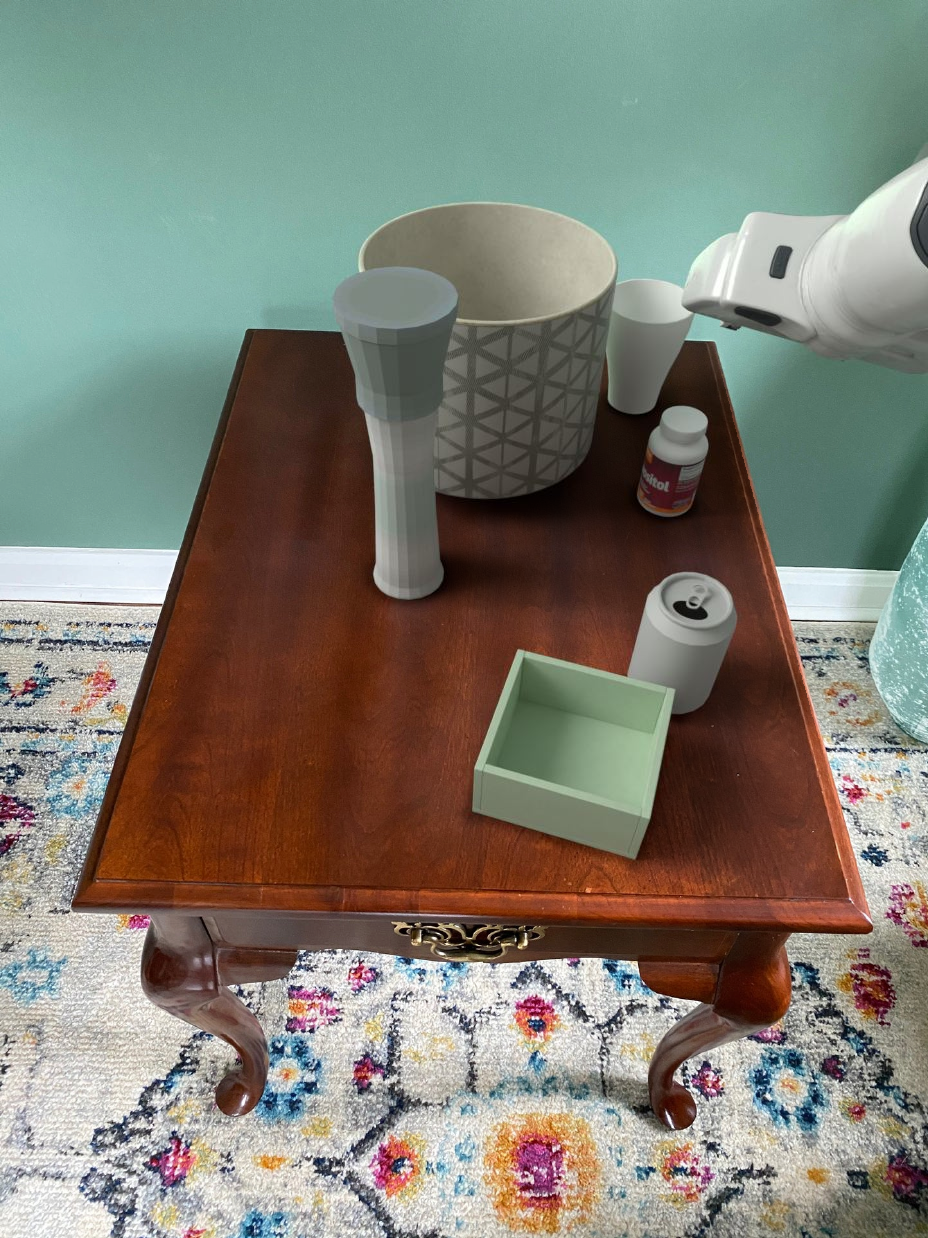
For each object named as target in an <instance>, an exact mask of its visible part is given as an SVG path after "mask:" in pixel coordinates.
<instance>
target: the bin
mask: <svg viewBox="0 0 928 1238" xmlns="http://www.w3.org/2000/svg"><path fill="white" fill-rule="evenodd" d="M675 691H676V690H675V689H673V688H669V687H668V688H667V687H665V686H661V685H657V684H653V683H649V682H645V681H641V680H637V679H633V678H630V677H628V676H626V675H621V674H619V673H618V674H617V673H613V672H609V671H606V670H602V669H598V668H594V667H590V666H586V665H582V664H580V663H575V662H570V661H567V660H564V659H559V658H555V657H551V656H547V655H543V654H539V653H536V652H531V651H527V650H524V649H520V648H518V649H517V651H516V653H515V656H514V658H513V661H512V664H511V667H510V670H509V673H508V675H507V678H506V681H505V684H504V687H503V689H502V691H501V694H500V697H499V700H498V702H497V704H496V708H495V710H494V713H493V717H492V719H491V722H490V723H489V727H488V730H487V733H486V735H485V737H484V741H483V744H482V747H481V749H480V752H479V754H478V757H477V760H476V763H475V765H474V767H473V768H474V770H473V790H472V794H473V795H472V813H473V812H474V813H476V814H480V815H483V816H487V817H490V818H494V819H496V820H500V821H503V822H508V823H510V824H513V825H517V826H521V827H523V828H527V829H530V830H534V831H537V832H540V833H544V834H547V835H550V836H554V837H557V838H559V839H560V838H561V839H563V840H567V841H570V842H574V843H577V844H580V845H584V846H588V847H590V848H594V849H597V850H601V851H604V852H607V853H611V854H615V855H618V856H621V857H624V858H628V859H632V860H636V858H637V857H638V854H639V851H640V848H641V845H642V843H643V840H644V837H645V836H646V835H645V834H646V832H647V829H648V826H649V824H650V821H651V818H652V813H653V807H654V802H655V797H656V792H657V787H658V782H659V778H660V771H661V767H662V761H663V757H664V751H665V746H666V741H667V736H668V732H669V727H670V720H671V716H672V714H671V711H672V706H673V701H674V696H675Z"/></svg>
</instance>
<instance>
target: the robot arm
mask: <svg viewBox="0 0 928 1238" xmlns="http://www.w3.org/2000/svg"><path fill="white" fill-rule="evenodd" d="M683 289H684V291H683V295H682V299H681V304H682V306H683V307H684V308H685V309H686V310H688V311H690V312H693V313H695V315H696V314H698V315H701V316H704V317H708V318H711V319H715V320H719V327H720V328H724V329H728V330H731V331H738V330H740V329H741V328H742V327H743V328H747V329H750V330H753V331H757V332H760V333H764V334H767V335H771V336H774V337H777V338H780V339H785V340H788V341H792V342H795V343H798V344H802V346H803V347H805V348H806V349H807V350H808V351H810V352H812V353H814V354H815V355H817V356H819V357H822V358H824V359H829V360H834V361H839V362H842V363H843V362H846V361H852V360H858V361H862V362H865V363H869V364H872V365H875V366H879V367H883V368H886V369H888V370H889V369H890V370H893V371H897V372H899V373H903V374H908V375H909V374H910V375H925V374H927V373H928V139H927V140H926V141H925V142H924V143H923V145H922V146H921V148H920V150H919V151H918V153H917V155H916V156H915V158H914V159H913V162H912V163H911V165H910V166H909V167H907V168H906V169H904V170H903V171H901V172H900V173H898V174H897V175H895V176H894V177H892V178H891V179H889V180H888V181H886V182H885V183H884V184H883V185H881V186H880V187H879V188H877V189H876V190H874V192H872V193H871V194H870V195H868V196H867V197H866V198H865V199H864V200H863V201H862V202H861V203H860V204H859V205H858V206H857V207H856V208H855V209H854V211H853V212H851V213H850V214H832V215H831V214H830V215H800V214H799V215H797V214H787V213H777V212H769V211H753V212H750V213H748V214H747V215H746V217H745V218H744V219H743V221H742V224H741V226H740V228H739V231H735V232H729V233H727V234H724V235H722V236H720V237H718V238H716V240H714V241H713V242H712V243H710V244H709V245H707V247H705V248H704V249H703V250H702V251H701V252H700V253H699V255H698V256H697V257H696V258H695V259H694V261H693V262H692V264H691V266H690V269H689V272H688V275H687V278H686V281H685V284H684V287H683Z"/></svg>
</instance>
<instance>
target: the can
mask: <svg viewBox="0 0 928 1238" xmlns="http://www.w3.org/2000/svg"><path fill="white" fill-rule="evenodd" d="M644 605H645V606H644V609H643V613H642V617H641V621H640V625H639V628H638V632H637V636H636V640H635V644H634V646H633V647H634V648H633V652H632V655H631V659H630V662H629V667H628V670H627V674H626V675H627V677H630V678H633V679H637V680H641V681H645V682H649V683H653V684H657V685H661V686H665V687H667V688H668V687H669V688H673V689H675V690H676V691H675V696H674V701H673V706H672V711H671V715H684V714H687V713H691V712H694V711H696V710H697V709H699V708H700V707H702V706H703V705H704V704H705V703H706V701H707V700H708V698H709V697H710V694H711V692H712V689H713V687H714V685H715V682H716V679H717V676H718V674H719V671H720V668H721V667H722V664H723V661H724V658H725V656H726V653H727V650H728V648H729V647H730V643H731V641H732V638H733V636H734V633H735V630H736V628H737V623H738V615H737V610H736V607H735V603H734V598H733V595H732V594H731V592H730V591H729V589H728V588H727V587H726V585H724V584H723V583H722V582H721V581H719V580H717V579H715V578H714V577H711V576H709V575H708V574H703V573H699V572H695V571H682V572H681V571H680V572H677V573H672V574H671V575H669V576H667V577H665V578H664V579H662V581H661V582H660V583H658V584H657V585H656V586H654V587H653V588H652V590H651V591H650V592H649V594H647V597H646V602H645V604H644Z"/></svg>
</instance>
